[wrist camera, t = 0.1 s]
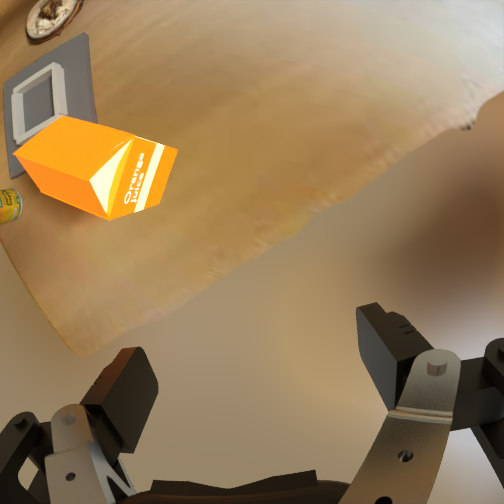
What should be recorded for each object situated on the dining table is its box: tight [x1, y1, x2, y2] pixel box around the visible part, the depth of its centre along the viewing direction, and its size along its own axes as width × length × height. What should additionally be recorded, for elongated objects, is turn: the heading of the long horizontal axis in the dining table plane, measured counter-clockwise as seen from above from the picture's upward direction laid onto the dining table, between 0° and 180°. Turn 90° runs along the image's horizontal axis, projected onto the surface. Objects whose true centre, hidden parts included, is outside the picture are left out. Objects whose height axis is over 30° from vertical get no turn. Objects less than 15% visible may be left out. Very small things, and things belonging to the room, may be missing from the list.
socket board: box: [4, 33, 98, 178], centre depth 33 cm, size 18×18×4 cm
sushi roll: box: [26, 0, 84, 44], centre depth 28 cm, size 15×15×4 cm
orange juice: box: [13, 116, 178, 220], centre depth 27 cm, size 8×9×20 cm
